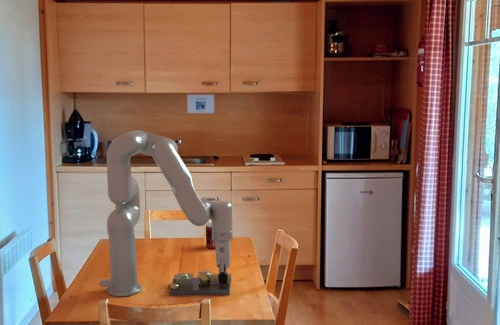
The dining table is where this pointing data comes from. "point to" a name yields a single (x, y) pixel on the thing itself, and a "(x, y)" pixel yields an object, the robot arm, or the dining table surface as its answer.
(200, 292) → the plate
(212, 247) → the canned food
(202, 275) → the lever handle
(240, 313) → the dining table surface
